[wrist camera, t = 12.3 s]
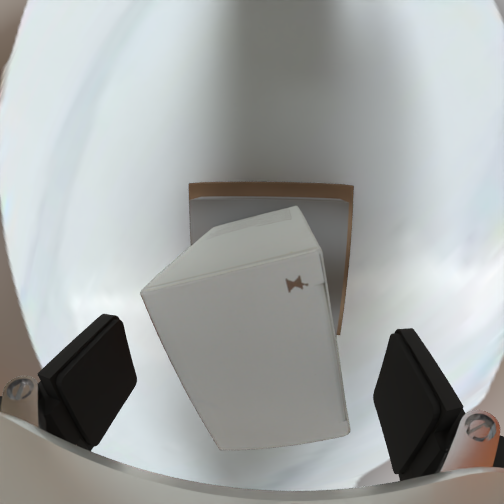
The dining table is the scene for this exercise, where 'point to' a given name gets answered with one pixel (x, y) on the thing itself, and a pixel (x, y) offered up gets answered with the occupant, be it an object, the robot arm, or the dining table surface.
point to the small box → (254, 333)
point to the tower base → (289, 191)
